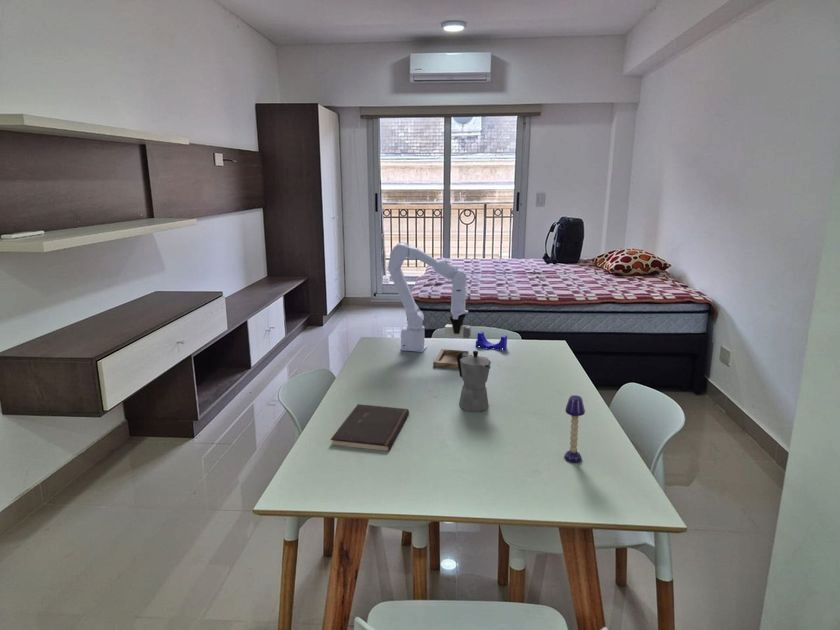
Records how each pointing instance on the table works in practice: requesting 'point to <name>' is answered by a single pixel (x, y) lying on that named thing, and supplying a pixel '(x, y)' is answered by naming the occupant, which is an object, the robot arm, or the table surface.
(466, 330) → the sleeve block
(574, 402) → the toy lamp
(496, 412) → the table surface
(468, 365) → the coffeepot
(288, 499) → the table surface
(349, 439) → the hardcover book
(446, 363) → the tray
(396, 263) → the robot arm
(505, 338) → the cable clip
